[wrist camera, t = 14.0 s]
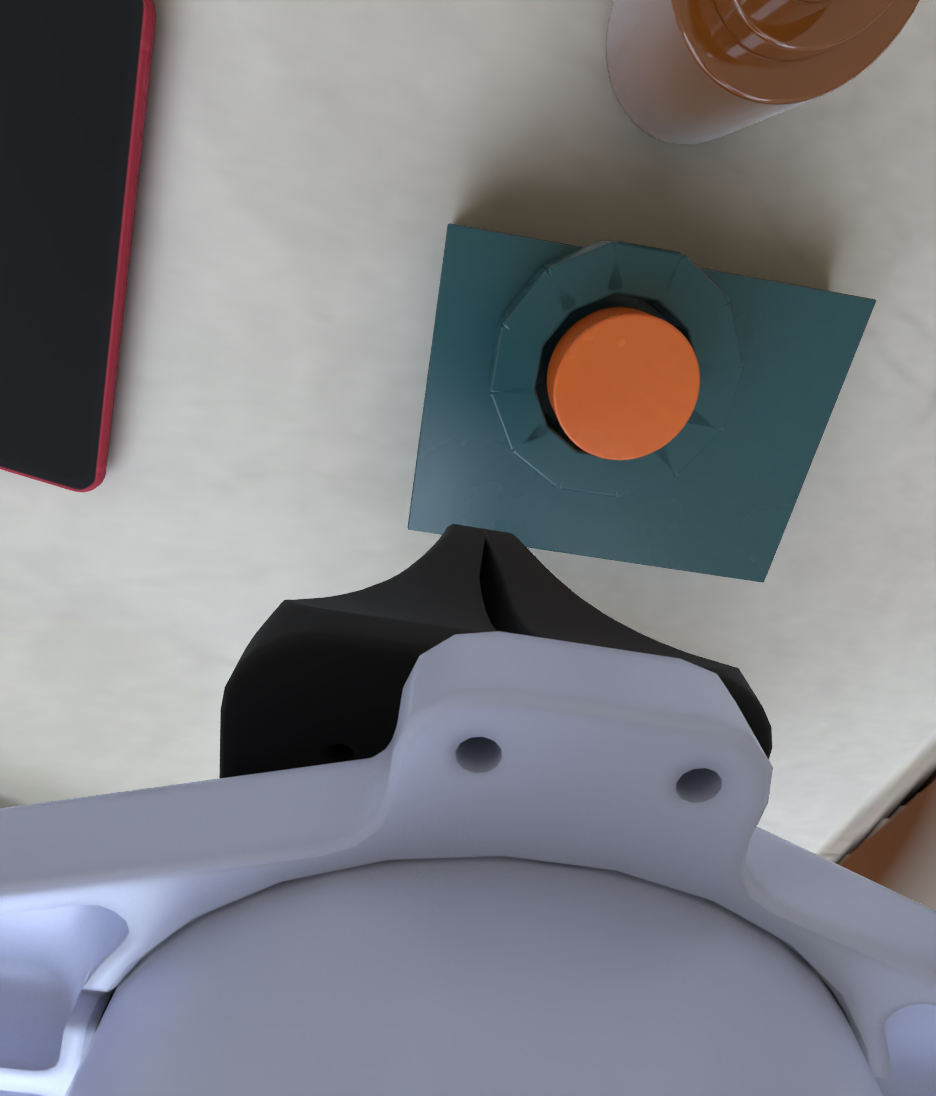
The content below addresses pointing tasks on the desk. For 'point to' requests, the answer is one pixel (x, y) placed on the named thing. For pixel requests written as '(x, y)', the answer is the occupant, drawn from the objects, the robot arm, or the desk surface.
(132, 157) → the smartphone
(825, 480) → the desk surface
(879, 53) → the bottle
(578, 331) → the button
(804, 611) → the desk surface
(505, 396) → the teal button housing
